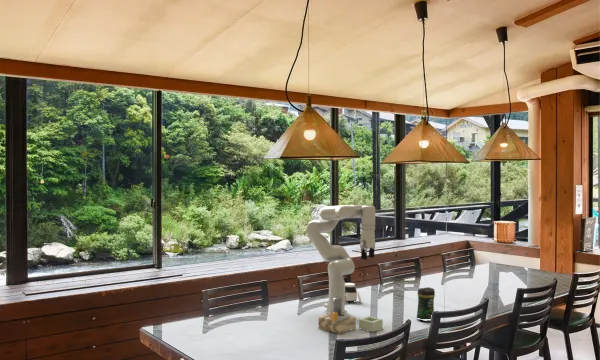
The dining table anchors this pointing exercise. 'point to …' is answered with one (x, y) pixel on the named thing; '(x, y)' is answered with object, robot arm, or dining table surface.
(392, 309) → the dining table surface
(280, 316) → the dining table surface
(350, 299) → the spread jar
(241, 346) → the dining table surface
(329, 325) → the socket block
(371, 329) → the pale green square tray
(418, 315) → the coffee jar
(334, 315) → the locking fork
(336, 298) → the peg
